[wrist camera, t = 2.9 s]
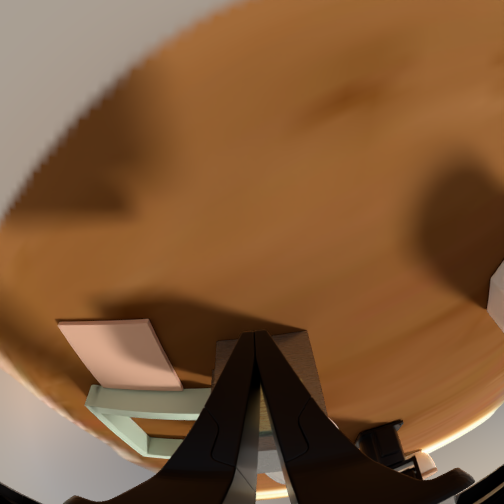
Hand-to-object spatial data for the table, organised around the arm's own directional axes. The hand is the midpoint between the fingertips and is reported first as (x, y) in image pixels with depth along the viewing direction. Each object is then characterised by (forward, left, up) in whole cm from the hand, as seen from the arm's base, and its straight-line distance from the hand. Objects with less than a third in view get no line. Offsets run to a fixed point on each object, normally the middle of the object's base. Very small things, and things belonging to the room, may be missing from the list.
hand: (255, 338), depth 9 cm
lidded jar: (-62, -31, -6) cm, 70 cm away
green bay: (-19, +10, -6) cm, 22 cm away
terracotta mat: (-8, +11, -6) cm, 15 cm away
